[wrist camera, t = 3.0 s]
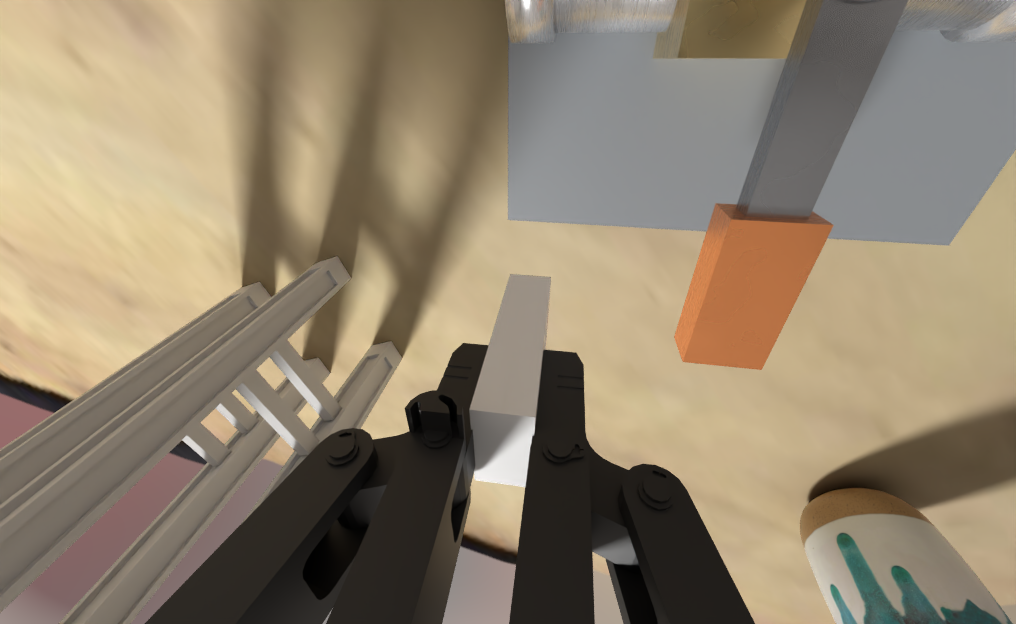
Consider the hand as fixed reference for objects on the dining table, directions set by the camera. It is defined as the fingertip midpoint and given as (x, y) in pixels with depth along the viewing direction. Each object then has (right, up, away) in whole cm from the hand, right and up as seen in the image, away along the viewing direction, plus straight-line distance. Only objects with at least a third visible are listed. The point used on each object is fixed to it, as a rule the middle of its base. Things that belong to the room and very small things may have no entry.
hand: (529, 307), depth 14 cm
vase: (+33, -19, +24) cm, 45 cm away
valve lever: (+9, +5, -1) cm, 10 cm away
